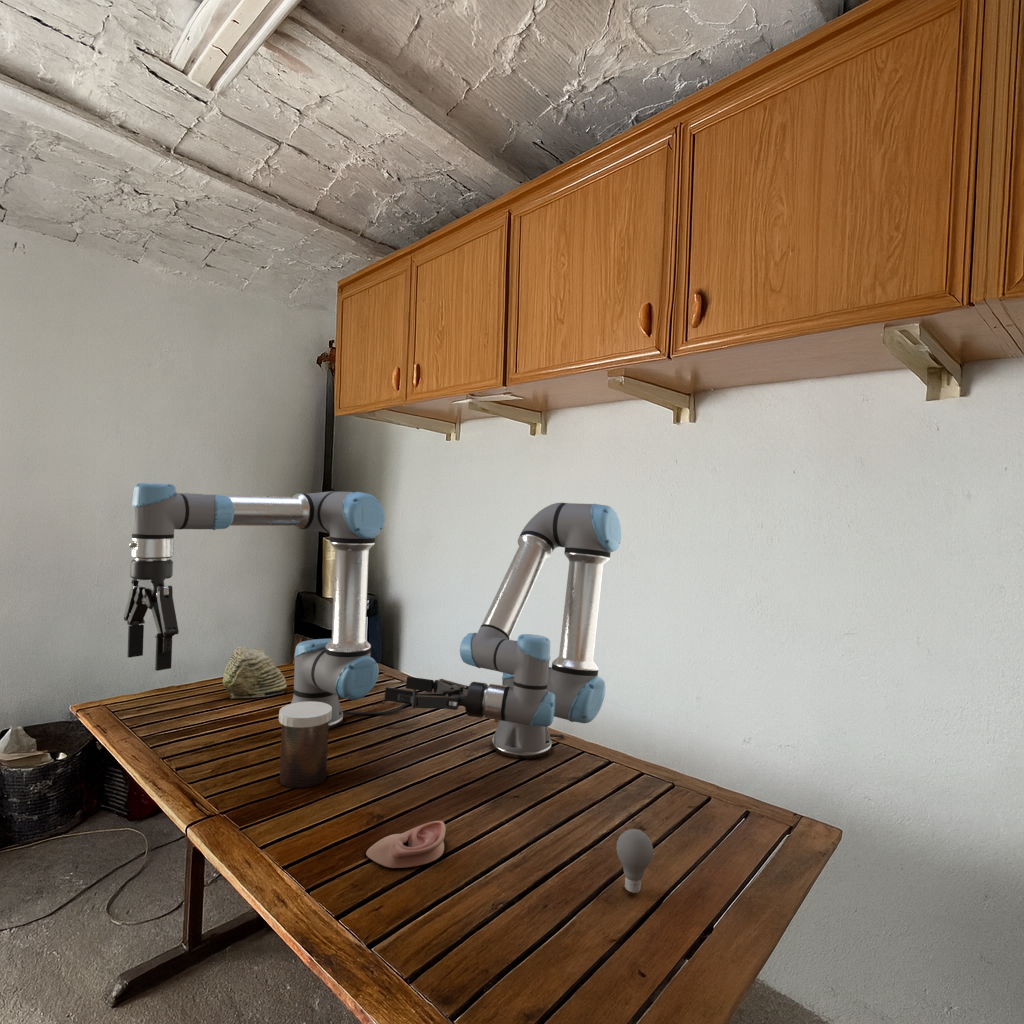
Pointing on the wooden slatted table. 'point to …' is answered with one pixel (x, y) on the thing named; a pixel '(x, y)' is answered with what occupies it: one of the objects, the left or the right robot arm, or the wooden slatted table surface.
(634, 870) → the light bulb
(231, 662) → the fossil
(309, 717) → the lid
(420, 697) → the right robot arm
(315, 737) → the jar
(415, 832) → the anatomical model
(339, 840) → the wooden slatted table surface
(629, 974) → the wooden slatted table surface
